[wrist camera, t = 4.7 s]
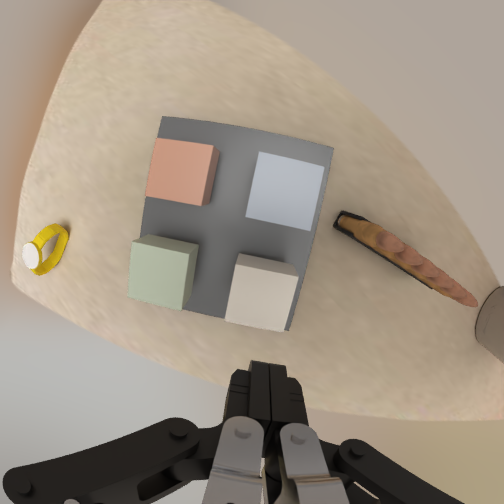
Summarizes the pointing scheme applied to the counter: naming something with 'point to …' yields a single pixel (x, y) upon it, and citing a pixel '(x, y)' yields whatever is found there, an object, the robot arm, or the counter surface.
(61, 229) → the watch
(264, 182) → the slate key
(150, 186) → the terracotta key
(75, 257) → the counter surface
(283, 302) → the cream key
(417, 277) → the ammunition clip
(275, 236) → the keypad board
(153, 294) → the sage key
